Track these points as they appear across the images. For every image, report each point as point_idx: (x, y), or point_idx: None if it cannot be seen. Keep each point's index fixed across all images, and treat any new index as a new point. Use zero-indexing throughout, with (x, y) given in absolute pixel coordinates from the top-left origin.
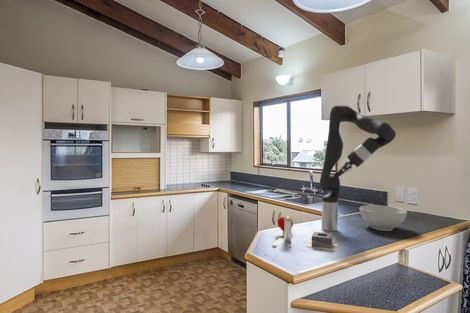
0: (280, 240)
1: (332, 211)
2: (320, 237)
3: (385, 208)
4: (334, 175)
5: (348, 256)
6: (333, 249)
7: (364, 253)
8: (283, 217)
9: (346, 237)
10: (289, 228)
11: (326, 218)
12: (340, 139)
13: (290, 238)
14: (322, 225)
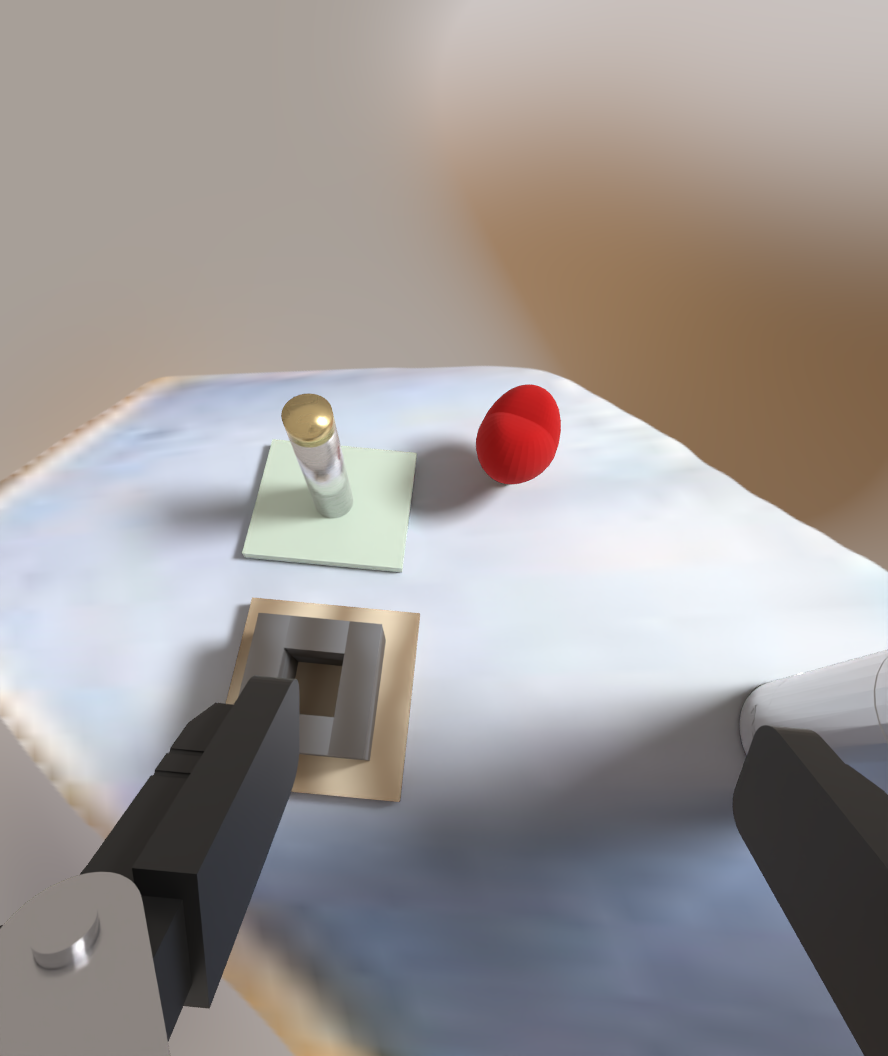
0: (362, 464)
1: (862, 753)
2: (245, 670)
3: None
4: (235, 712)
5: None
6: None
7: (268, 1008)
8: (535, 402)
9: (636, 876)
10: (300, 465)
11: (798, 703)
12: None
13: (318, 502)
14: (777, 681)
